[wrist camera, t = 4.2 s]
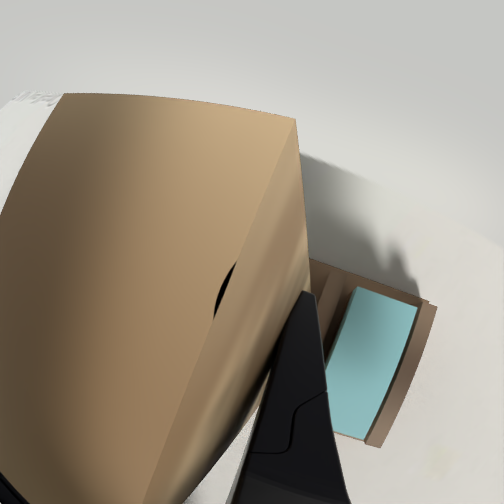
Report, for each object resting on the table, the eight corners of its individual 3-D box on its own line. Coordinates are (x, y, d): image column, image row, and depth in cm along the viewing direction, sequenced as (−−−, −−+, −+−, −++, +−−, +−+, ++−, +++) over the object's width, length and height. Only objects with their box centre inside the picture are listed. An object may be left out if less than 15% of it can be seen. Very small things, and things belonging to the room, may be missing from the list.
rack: (369, 437, 14) (379, 457, 11) (194, 370, 17) (171, 377, 14) (423, 302, 15) (444, 297, 12) (246, 239, 18) (233, 223, 15)
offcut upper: (358, 429, 12) (363, 439, 11) (304, 411, 13) (303, 420, 11) (407, 309, 13) (417, 307, 12) (353, 290, 14) (357, 286, 12)
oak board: (277, 377, 15) (116, 571, 2) (227, 356, 16) (-39, 419, 2) (311, 295, 16) (295, 119, 2) (259, 276, 16) (64, 93, 3)
